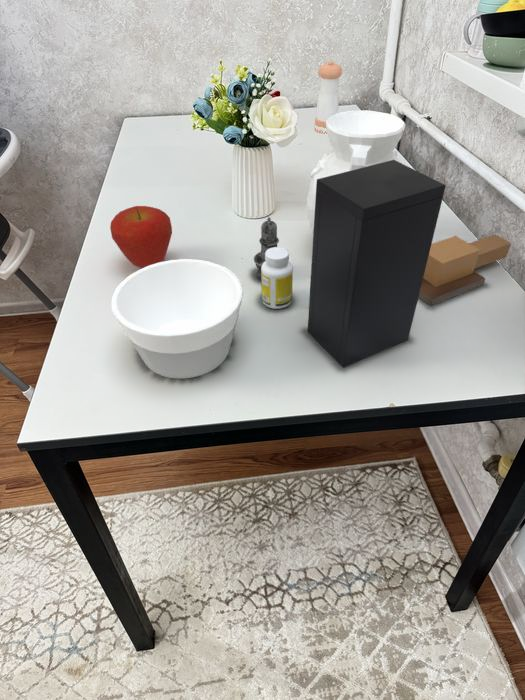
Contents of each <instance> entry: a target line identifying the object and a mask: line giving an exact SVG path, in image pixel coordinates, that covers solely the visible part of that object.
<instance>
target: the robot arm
mask: <svg viewBox="0 0 525 700" xmlns="http://www.w3.org/2000/svg"><path fill="white" fill-rule="evenodd" d="M514 127H515V128H514V129H515V131H516V133H517V134H518V135H520V136H521V137H522V138H523V139H525V118H523V117H522V116H520V115H519V116H518V119H517V121H516V123H515V125H514Z"/></svg>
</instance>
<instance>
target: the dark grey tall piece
mask: <svg viewBox="0 0 525 700" xmlns="http://www.w3.org/2000/svg"><path fill="white" fill-rule="evenodd" d="M277 225H278V224H277V223H276V222H275V221H274V220H272V218H271V217H270V216H269V217H267V218H266V220H265V221H264V222H262V223H261V226H260V234H261V235H260V238H259V240H258V241H259V244H260V251H259V252H257V253H256V254H255V255H254V256H253V262H254V264H255V266H256V268H257V271H256V272H255V278H256V279H257V280H258V281H261V282H262V279H261V267H262V264H263V263H264V262H265V252H266V251H267V250H268V249H270V248H273V247H278V243H280V239H279V237H278V226H277Z"/></svg>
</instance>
